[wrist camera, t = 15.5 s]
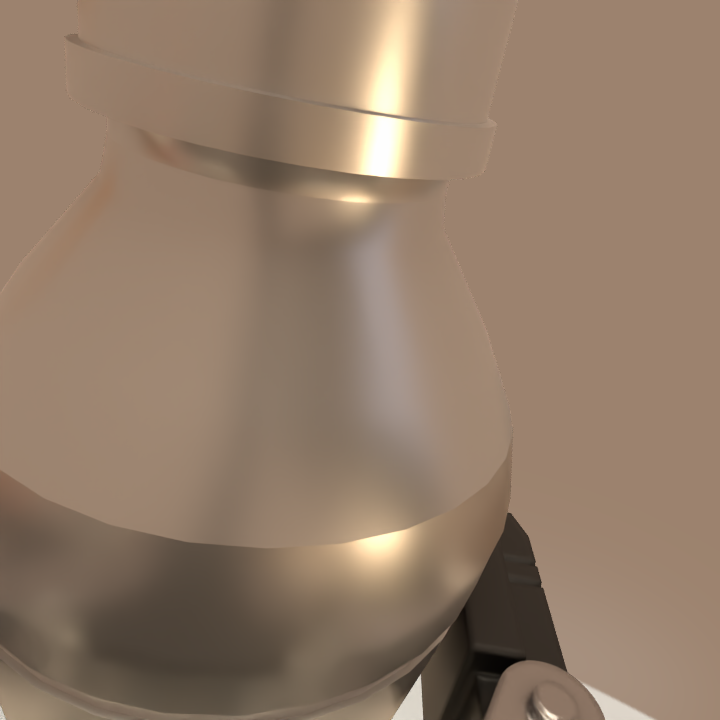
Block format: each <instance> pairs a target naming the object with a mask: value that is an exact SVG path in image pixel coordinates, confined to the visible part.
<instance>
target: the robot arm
mask: <svg viewBox="0 0 720 720" xmlns="http://www.w3.org/2000/svg"><path fill="white" fill-rule="evenodd" d="M535 562H536V561H535V558H534V554H533V551H532V547H531V544H530V540H529V537H528V535H527V534H526V533H525V531H524V530H523V529H522V527H521V526H520V525H519V523H518V522H517V521H516V519H515V518H514V517H513V516H512V514H511V513H507V517H506V521H505V526H504V531H503V533H502V535H501V537H500V539H499V540H498V542H497V544H496V546H495V548H494V550H493V552H492V554H491V556H490V558H489V560H488V562H487V564H486V566H485V568H484V570H483V572H482V574H481V576H480V578H479V580H478V582H477V584H476V586H475V588H474V590H473V591H472V593H471V595H470V597H469V598H468V600H467V602H466V603H465V605H464V607H463V609H462V610H461V612H460V614H459V616H458V617H457V619H456V621H455V622H453V623H452V624H451V626H450V628H449V630H448V631H447V633H446V635H445V636H444V638H443V640H442V641H441V643H440V644H439V646H438V648H437V649H436V651H435V652H434V654H433V655H432V657H431V658H430V660H429V662H428V663H427V665H426V666H425V668H424V669H423V671H422V672H421V683H422V702H423V720H605V718H604V715H603V713H602V711H601V709H600V707H599V705H598V703H597V702H596V700H595V698H594V697H593V696H592V695H591V693H590V692H589V691H588V690H587V689H586V688H585V687H584V686H583V685H582V684H581V683H580V682H579V681H578V680H577V679H576V678H574V677H573V676H572V675H570V674H569V673H568V672H567V669H566V666H565V663H564V659H563V656H562V652H561V649H560V645H559V642H558V638H557V635H556V631H555V628H554V624H553V621H552V617H551V614H550V610H549V607H548V604H547V600H546V596H545V593H544V589H543V588H541V583H542V582H541V579H540V575H539V572H538V568H537V567H536V566H535Z"/></svg>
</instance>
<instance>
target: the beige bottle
mask: <svg viewBox="0 0 720 720" xmlns="http://www.w3.org/2000/svg"><path fill="white" fill-rule="evenodd" d="M517 4H518V0H77V8H78V34H70V35H67V36H65V69H66V91H67V93H68V96H69V97H70V99H72V100H73V101H75V102H76V103H78V104H79V105H81V106H83V107H84V108H86V109H89V110H91V111H93V112H96V113H98V114H101V115H103V116H105V117H106V125H107V126H106V128H107V131H106V138H105V143H104V149H103V155H102V161H101V166H100V171H99V173H98V174H97V175H96V176H95V177H94V178H93V180H92V181H91V182H90V183H89V184H88V185H87V186H86V188H85V189H84V190H83V191H82V192H81V193H80V194H79V196H78V197H77V198H76V199H75V200H74V202H73V203H72V204H71V205H70V206H69V207H68V208H67V209H66V211H65V212H64V213H63V214H62V215H61V216H60V217H59V219H58V220H57V221H56V222H55V223H54V224H53V226H52V227H51V228H50V229H49V230H48V231H47V232H46V234H45V235H44V236H43V237H42V238H41V239H40V241H39V242H38V243H37V244H36V245H35V246H34V248H33V249H32V250H31V251H30V252H29V253H28V254H27V255H26V257H25V258H24V259H23V260H22V261H21V263H20V264H19V266H18V267H17V269H16V270H15V272H14V273H13V275H12V276H11V277H10V279H9V280H8V282H7V284H6V285H5V287H4V288H3V289H2V291H1V292H0V705H1V708H2V710H3V713H4V716H5V718H6V720H391V719H392V718H393V716H394V715H395V713H396V712H397V710H398V708H399V707H400V705H401V704H402V702H403V701H404V699H405V697H406V696H407V694H408V693H409V691H410V690H411V688H412V687H413V685H414V683H415V682H416V680H417V679H418V677H419V676H420V674H421V672H422V671H423V669H424V668H425V666H426V665H427V663H428V662H429V660H430V658H431V657H432V655H433V654H434V652H435V651H436V649H437V648H438V646H439V644H440V643H441V641H442V640H443V638H444V636H445V635H446V633H447V631H448V630H449V628H450V626H451V624H452V623H453V622H455V621H456V619H457V617H458V616H459V614H460V612H461V610H462V609H463V607H464V605H465V603H466V602H467V600H468V598H469V597H470V595H471V593H472V591H473V590H474V588H475V586H476V584H477V582H478V580H479V578H480V576H481V574H482V572H483V570H484V568H485V566H486V564H487V562H488V560H489V558H490V556H491V554H492V552H493V550H494V548H495V546H496V544H497V542H498V540H499V539H500V537H501V535H502V533H503V531H504V526H505V521H506V517H507V512H508V507H509V502H510V494H511V493H510V492H511V468H512V440H513V428H512V421H511V414H510V408H509V403H508V399H507V396H506V393H505V389H504V386H503V383H502V379H501V376H500V373H499V369H498V366H497V362H496V359H495V356H494V353H493V349H492V346H491V342H490V339H489V336H488V332H487V329H486V327H485V324H484V322H483V320H482V317H481V315H480V313H479V310H478V308H477V305H476V303H475V301H474V298H473V296H472V294H471V291H470V289H469V286H468V284H467V282H466V279H465V277H464V275H463V272H462V270H461V268H460V265H459V263H458V260H457V258H456V256H455V253H454V251H453V249H452V247H451V244H450V242H449V239H448V237H447V235H446V232H445V230H444V215H445V202H446V192H447V188H448V184H449V180H455V179H466V178H471V177H476V176H479V175H481V174H482V173H483V172H485V169H486V166H487V162H488V158H489V154H490V151H491V147H492V143H493V139H494V136H495V132H496V128H497V124H496V123H495V122H494V121H493V120H491V119H489V118H488V115H489V111H490V107H491V103H492V99H493V96H494V92H495V88H496V84H497V80H498V77H499V73H500V69H501V65H502V61H503V57H504V54H505V50H506V46H507V42H508V38H509V35H510V31H511V27H512V23H513V20H514V15H515V12H516V8H517Z"/></svg>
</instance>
